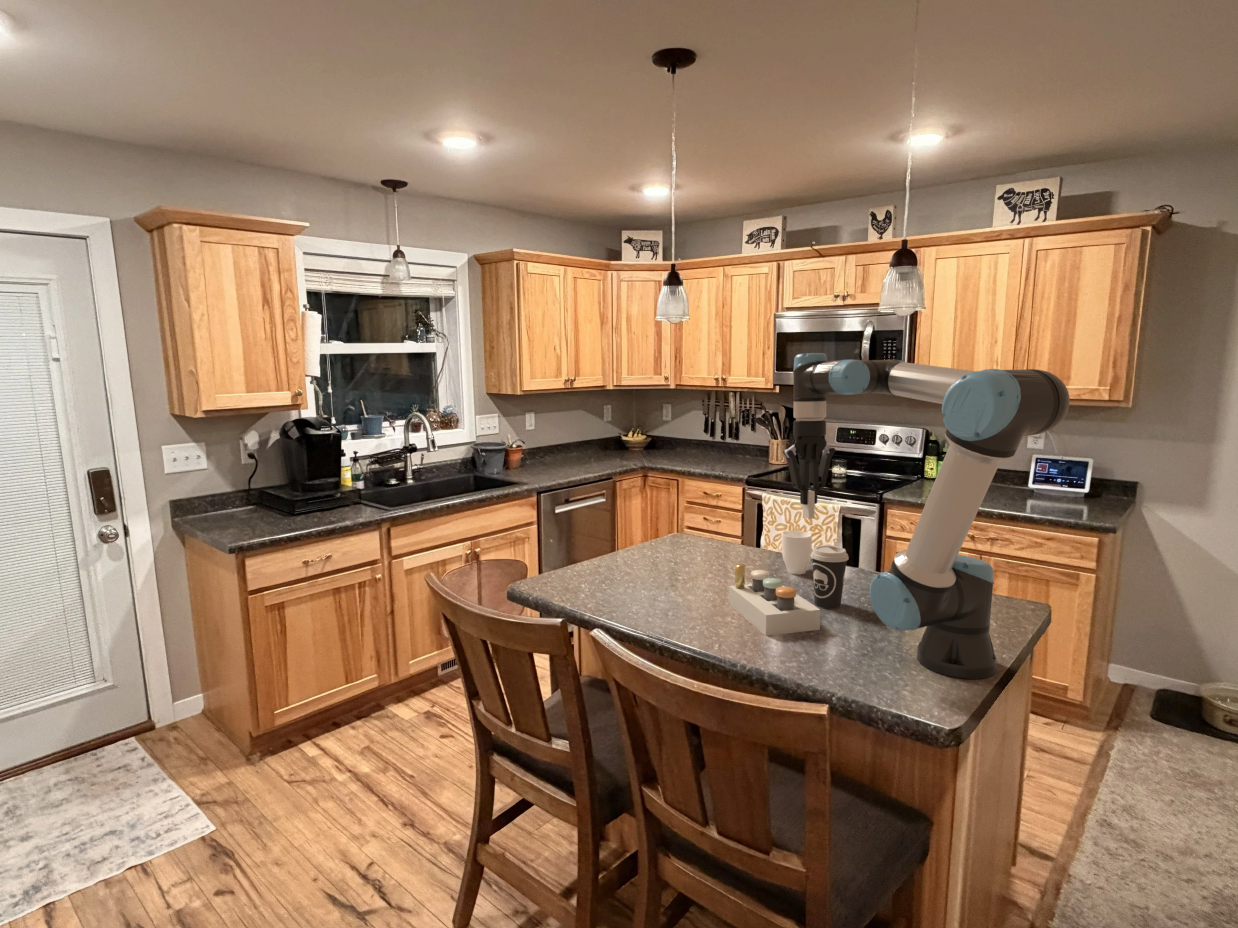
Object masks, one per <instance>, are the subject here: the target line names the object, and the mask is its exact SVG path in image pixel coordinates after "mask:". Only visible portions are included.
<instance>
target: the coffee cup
mask: <svg viewBox="0 0 1238 928" xmlns="http://www.w3.org/2000/svg"><path fill="white" fill-rule="evenodd" d="M810 556H811V561H812V576H813V579H812V580H813V593H814V594H813V595H814V604H815V605H814V606H816V607H817V608H818V607H819V608H821V609H827V610H828V609H829V610H835V609H839V608H841V605H842V596H843V590H844V581H845V574H846V568H847V567H846V566H847V561H848V560H849V554H848V553H847V550H846V548H843V547H841V546H836V545H829V544H827V545H826V544H825V545H824V544H823V545H822V544H821V545H815V546H814V548H813V549H812V553H811V555H810Z"/></svg>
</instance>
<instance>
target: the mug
mask: <svg viewBox="0 0 1238 928" xmlns="http://www.w3.org/2000/svg"><path fill="white" fill-rule="evenodd" d="M812 542H813V539H812V533H810V532H808V531H802V530H785V531H782V532H781V555H782V560H783V562H784V565H785V567H786V569H787V572H788V573H789V574H791V575H804V574H806V572H807V570H808V567H809V565H810V563H811V561H812V557H811V556H810V555H811V553H812V551H813V546H812V544H813V543H812Z"/></svg>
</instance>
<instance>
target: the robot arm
mask: <svg viewBox="0 0 1238 928" xmlns="http://www.w3.org/2000/svg"><path fill="white" fill-rule="evenodd" d="M793 360H794V361H793V371H792V374H793V375H792V376H793V410H792V411H793V414H792V415H793V418H794V419H795V420H794V421H793V423H792V424H793V425H792V432H793V434H792V435H793V440H792V443H791V446H790V447H788V448H787V449H785V448H784V449H783V450H782V453H783V455H784V457H785V458H786V462H787V466H788V472H789V475H790V479H791V485H792V488H793V489H797V490H799V494H800V495H799V496H800V497H799V501H800V502H799V503H800V504H801V505H802V518H805V519H808V520H811V519H812V520H813V519H815V505H816V504H818V492H820V491H821V489H822V488H823V489H824V488H825V487H826V484H827V479H828V474H829V471H830V466H831V462H832V457H833V456H834V454H835V453H836V448H834V447H831V446H830V445H828V442H827V440H826V434H827V421H826V420H825V418H827V395H842V396H848V395H850V396H851V395H859V394H883V395H884V394H885V395H889V396H897V397H902V398H908V399H913V400H918V401H924V402H928V403H935V404H940V405H941V414H942V415H943V416H944V418H942V421H943V424H944V426H945V428H946V430H945V432H944V436H945V439H946V440H947V442H948V444H949V446H948V448H947V450H946V453H945V456H944V458H943V460H942V462H941V465H940V468H939V471H938V473H937V475H936V478H935V479H934V480H935V481H933V485H932V487H931V490H930V492H929V494H928V497H927V499H926V502H925V504H924V507H923V508H922V512H921V514H920V516H919V519H918V522H917V524H916V526H915V528H914V531H913V533H912V536H911V538H910V540H909V543H908V545H907V548H906V549H904V550H903V549H902V550H901V551H898V552H897V553H896V554H895V555H894V557H893V560H892V563H891V565H890V567H889V569H888V571H882V572H880V573H878V574H877V575H875V576H874V577H873V578H872V579H871V582H870V585H869V599H870V603H871V605H872V608H873V610H874V612H875V614H876V616H877V617H878V619H879V620H880V621H881V622H882V623H883V624H884V625H885V626H887V627H888V628H889V629H892V630H894V631H899V632H902V631H903V632H905V631H916V630H918V629H921V628H924V629H925V630H924V633H923V634H922V637H921V639H920V642H918V645H917V648H916V659H917V661H918V662H919V664H921V665H922V666H923V667H924V668H926V669H928V670H930V671H933V672H935V673H938V674H941V675H945V676H949V677H953V678H959V679H968V680H971V679H972V680H974V679H976V680H977V679H985V678H990V677H992V676H993V675H995V674H996V672H997V665H998V664H997V663H998V662H997V661H998V660H997V656H996V654H995V648H994V645H993V643H992V639H991V635H990V627H991V626H990V625H991V613H992V604H993V602H992V601H993V592H994V591H993V587H994V585H995V581H994V568H993V566H992V565H991V564H990V563H989V562H986V561H984V560H982V559H980V558H977V557H976V558H975V557H972V556H967V555H962V554H960V550H961V549H962V547H963V545H964V542H965V541H966V538H967V536H968V534H969V531H970V529H971V527H972V525H973V523H974V520H975V518H976V516H977V514H978V512H979V510H980V507H981V505H982V503H983V502H984V501H983V500H984V499H985V497H986V494H987V493H988V489H989V488H990V485H991V484H992V482H993V479H994V477H995V475H996V473H997V471H998V468H999V465H1000V464H1001V463H1002V462H1004V461H1007V460H1010V459H1013V458H1014V456H1016V452H1017V450H1018V449H1019V446H1020V444H1021V442H1022V439H1023V438H1024V437H1026V436H1035V435H1040V434H1044V433H1047V432H1049V431H1051V430H1053V429H1054V428H1056V427H1057V426H1058V425H1059V424H1061V422H1063V420H1064V418H1066V415H1067V414H1068V411H1069V408H1070V403H1071V401H1070V399H1071V397H1070V394H1069V390H1068V387H1067V386H1066V384H1065V383H1064V381H1063V380H1062V379H1060V378H1059V377H1058V376H1057V375H1055V374H1054V373H1052V372H1049V371H1046V370H1044V369H1043V370H1042V369H1038V368H1037V369H1032V368H1031V369H1030V368H1027V369H999V368H989V369H987V368H986V369H982V370H976V371H975V370H971V369H970V370H968V369H963V368H962V369H961V368H953V367H943V366H938V365H937V366H936V365H929V364H921V363H912V362H906V361H904V360H900V359H899V360H898V359H872V360H871V359H870V360H869V359H868V360H867V359H865V360H863V359H850V358H849V359H841V360H837V359H836V360H829V361H828V355H827V354H826V353H824V352H817V353H816V352H811V353H810V352H809V353H798V354H796V355H795V357H794V359H793ZM796 455H797V456H798V458H797V457H796ZM797 459H798V460H797ZM798 463H799V464H798Z"/></svg>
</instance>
